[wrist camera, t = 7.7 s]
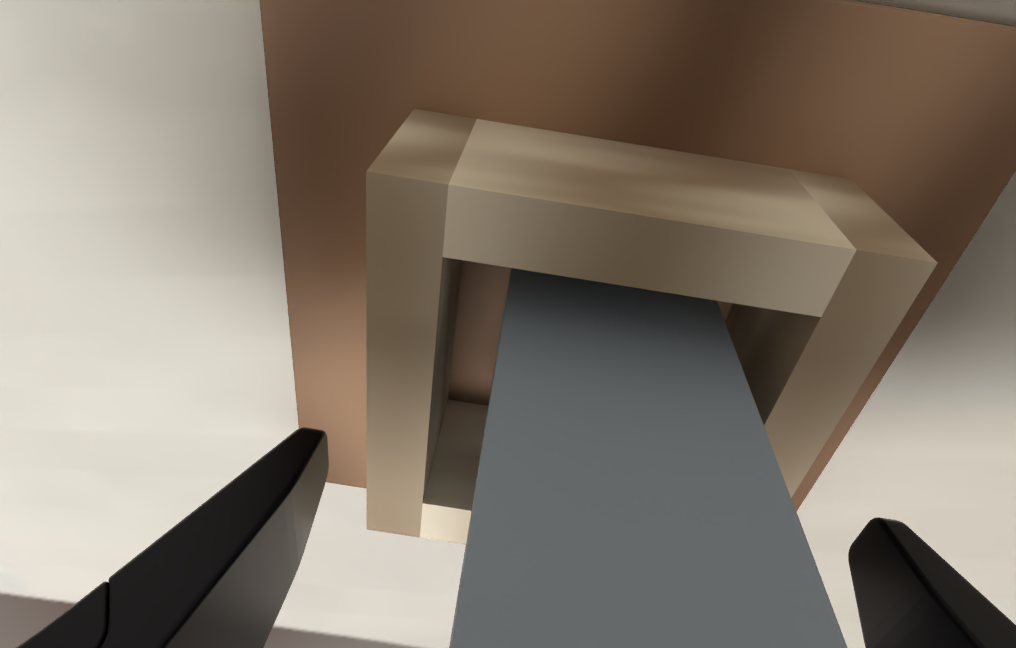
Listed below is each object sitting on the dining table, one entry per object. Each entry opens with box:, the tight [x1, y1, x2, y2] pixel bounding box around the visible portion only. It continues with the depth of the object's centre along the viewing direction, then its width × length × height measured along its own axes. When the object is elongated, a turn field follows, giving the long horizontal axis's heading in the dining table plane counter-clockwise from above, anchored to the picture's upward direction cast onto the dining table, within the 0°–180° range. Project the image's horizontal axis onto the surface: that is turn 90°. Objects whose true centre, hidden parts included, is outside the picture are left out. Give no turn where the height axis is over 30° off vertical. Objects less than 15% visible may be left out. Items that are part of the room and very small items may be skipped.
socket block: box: [260, 0, 1016, 545], centre depth 13 cm, size 14×14×4 cm
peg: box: [449, 268, 847, 648], centre depth 10 cm, size 4×4×10 cm
